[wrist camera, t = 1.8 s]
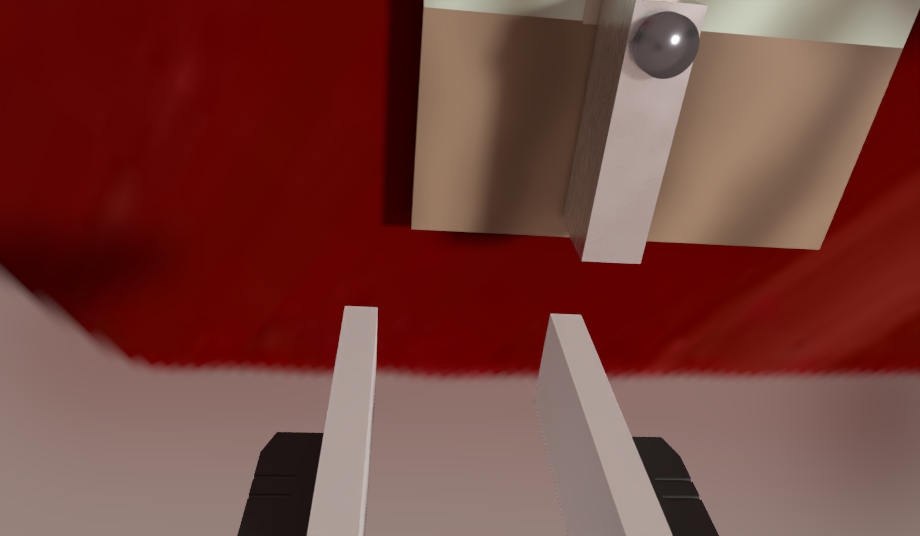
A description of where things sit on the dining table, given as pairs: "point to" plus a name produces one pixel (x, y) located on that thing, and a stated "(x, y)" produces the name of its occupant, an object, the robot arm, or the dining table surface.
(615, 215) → the bar
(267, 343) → the dining table surface
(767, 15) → the board
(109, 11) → the dining table surface
